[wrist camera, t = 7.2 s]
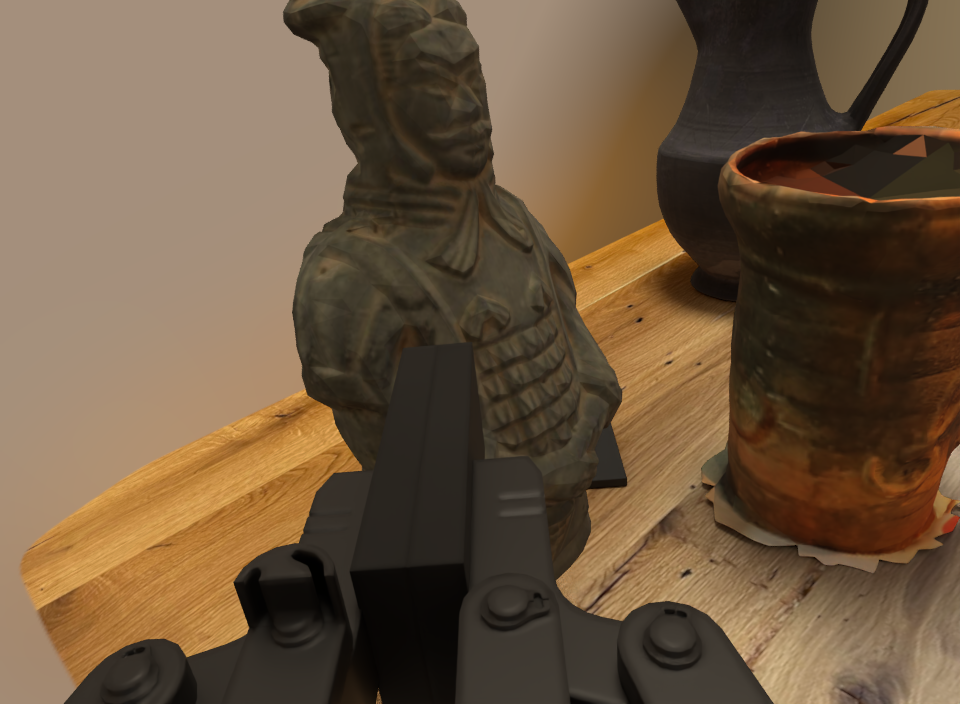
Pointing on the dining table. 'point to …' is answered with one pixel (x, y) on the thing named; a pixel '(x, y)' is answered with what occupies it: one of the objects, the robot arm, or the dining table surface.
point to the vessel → (843, 343)
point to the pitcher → (749, 114)
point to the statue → (442, 257)
